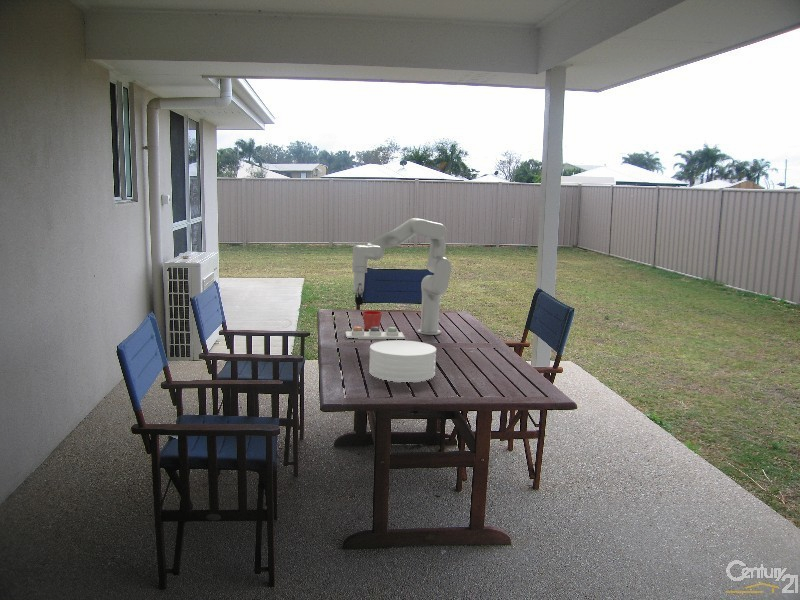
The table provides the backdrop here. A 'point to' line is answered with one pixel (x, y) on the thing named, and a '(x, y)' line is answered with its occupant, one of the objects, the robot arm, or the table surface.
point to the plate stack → (402, 361)
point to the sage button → (391, 329)
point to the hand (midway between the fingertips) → (358, 303)
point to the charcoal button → (374, 328)
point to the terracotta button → (357, 328)
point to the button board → (374, 334)
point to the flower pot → (371, 319)
